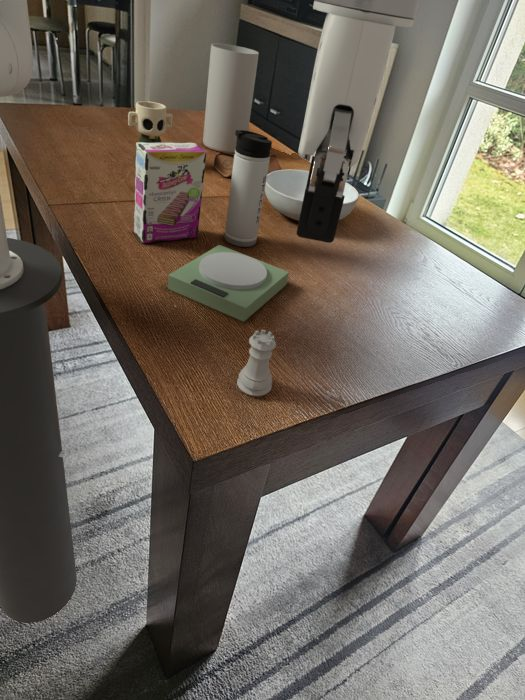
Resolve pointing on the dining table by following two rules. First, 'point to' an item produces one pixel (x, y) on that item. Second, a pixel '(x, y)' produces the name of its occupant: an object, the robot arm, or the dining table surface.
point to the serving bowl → (299, 193)
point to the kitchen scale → (228, 282)
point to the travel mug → (247, 188)
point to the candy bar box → (168, 190)
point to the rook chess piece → (257, 365)
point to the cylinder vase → (228, 95)
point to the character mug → (150, 120)
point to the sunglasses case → (225, 161)
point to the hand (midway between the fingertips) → (317, 217)
